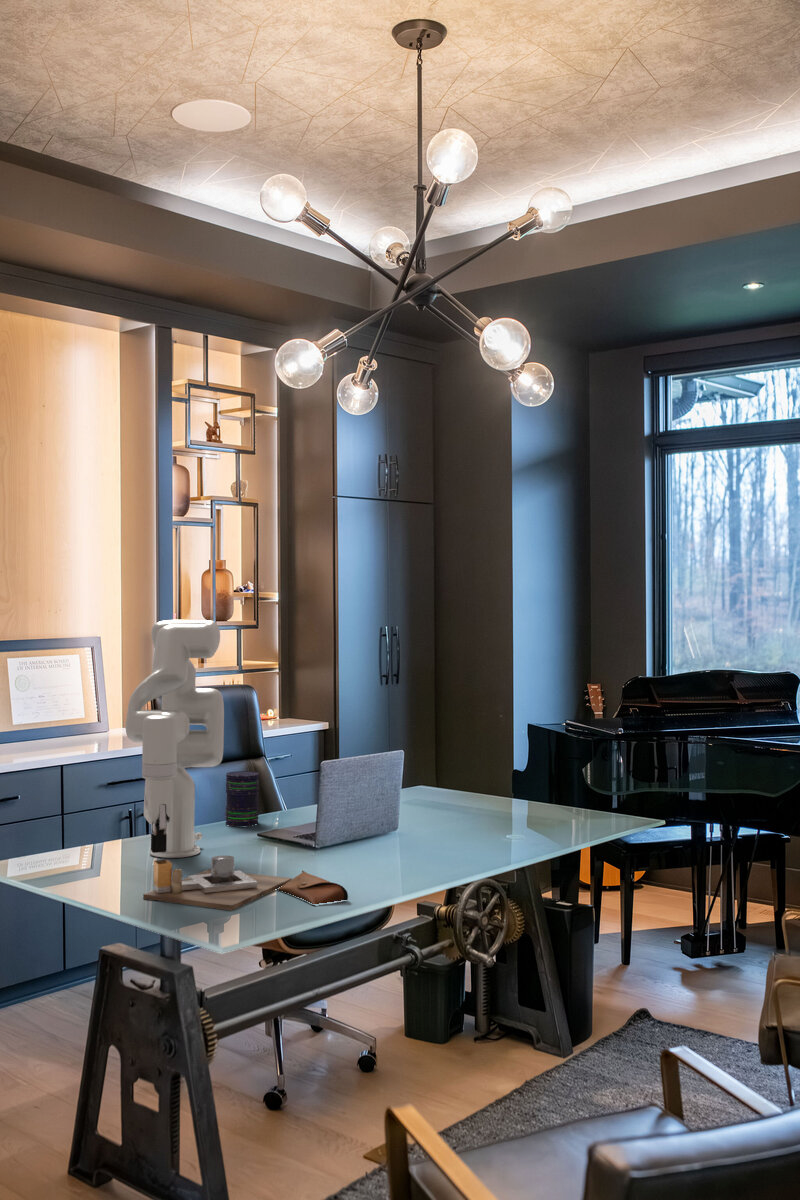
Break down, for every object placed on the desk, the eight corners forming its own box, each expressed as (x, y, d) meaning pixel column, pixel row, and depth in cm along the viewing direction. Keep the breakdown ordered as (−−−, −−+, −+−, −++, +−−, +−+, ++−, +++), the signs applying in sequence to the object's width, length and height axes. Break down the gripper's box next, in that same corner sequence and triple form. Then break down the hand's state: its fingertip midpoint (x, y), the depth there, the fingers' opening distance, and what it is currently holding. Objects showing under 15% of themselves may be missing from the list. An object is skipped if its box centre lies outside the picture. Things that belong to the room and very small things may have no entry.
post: (218, 881, 239) (219, 854, 240) (238, 883, 238) (238, 856, 238) (206, 886, 235) (207, 859, 235) (226, 888, 233) (226, 861, 233)
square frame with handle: (239, 875, 244) (239, 848, 244) (257, 887, 234) (257, 859, 234) (148, 885, 235) (149, 857, 235) (162, 897, 224) (163, 868, 224)
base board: (209, 873, 251) (209, 869, 252) (291, 882, 243) (291, 878, 243) (143, 898, 227) (143, 894, 228) (231, 910, 219) (231, 905, 219)
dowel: (175, 891, 230) (175, 868, 230) (183, 892, 229) (183, 869, 229) (170, 893, 228) (170, 870, 228) (178, 894, 227) (178, 871, 227)
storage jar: (228, 820, 319) (229, 770, 319) (261, 821, 319) (261, 771, 319) (221, 827, 309) (222, 775, 309) (255, 827, 309) (256, 776, 309)
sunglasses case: (272, 889, 236) (285, 861, 239) (295, 901, 240) (308, 874, 242) (315, 907, 222) (329, 877, 224) (339, 919, 226) (353, 890, 228)
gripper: (137, 765, 243) (136, 844, 244) (147, 777, 230) (146, 861, 230) (170, 763, 246) (169, 842, 247) (182, 775, 232) (181, 858, 233)
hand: (158, 851), depth 238 cm, fingers closed
